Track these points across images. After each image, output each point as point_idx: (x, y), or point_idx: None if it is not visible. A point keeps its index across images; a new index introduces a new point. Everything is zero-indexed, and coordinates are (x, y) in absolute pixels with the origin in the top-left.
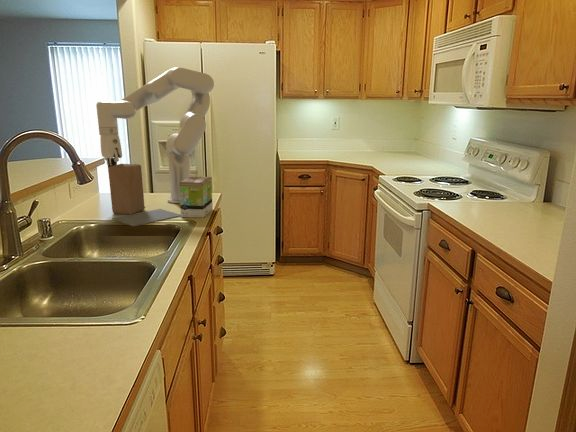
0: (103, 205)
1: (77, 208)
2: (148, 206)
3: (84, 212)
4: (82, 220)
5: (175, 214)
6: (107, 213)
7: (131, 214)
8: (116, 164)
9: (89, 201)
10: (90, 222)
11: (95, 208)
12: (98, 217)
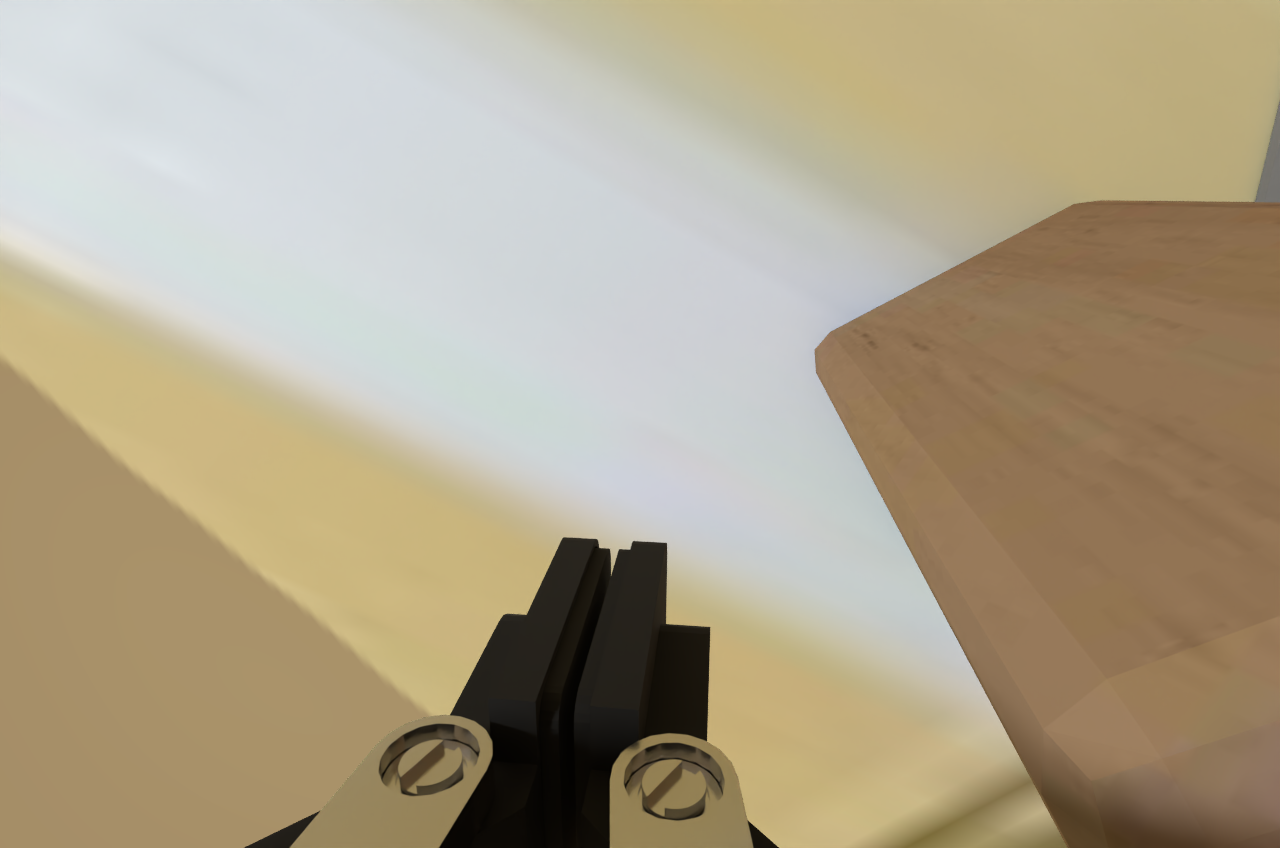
0: (436, 419)
1: (394, 651)
2: (947, 39)
3: None
4: (919, 840)
5: None
6: (855, 583)
7: None
8: (733, 778)
9: (116, 418)
10: (1056, 838)
11: (524, 546)
12: (940, 714)
